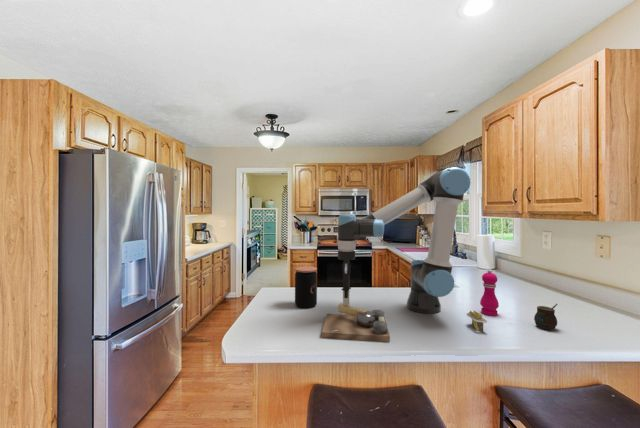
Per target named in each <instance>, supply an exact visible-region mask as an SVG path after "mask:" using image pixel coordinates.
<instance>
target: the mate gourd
mask: <svg viewBox="0 0 640 428" xmlns="http://www.w3.org/2000/svg"><path fill="white" fill-rule="evenodd" d="M557 306H558V303H555V304H554V305H553V306H552V307H549V306H546V305H538V306H536V313H535V314H534V317H533V320H534V323H535V326H537V327H538V328H539V329H542V330H546V331H552V330H554V329H555V328H556V327H557V325H558V319H557V317H556V315H555V312H556V310H555V308H556V307H557Z"/></svg>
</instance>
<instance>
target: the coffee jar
mask: <svg viewBox="0 0 640 428" xmlns="http://www.w3.org/2000/svg"><path fill="white" fill-rule="evenodd" d="M317 270H318V268H317V267H315V266H309V265H308V266H307V265H306V266H305V265H304V266H298V267H295V269H294V271H295V273H294V304H295V306H296V307H297V308H298V309H305V310H307V309H313V308H315V307H316V305H317V304H318V302H317V301H318V273H317Z"/></svg>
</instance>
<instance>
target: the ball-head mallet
mask: <svg viewBox="0 0 640 428" xmlns="http://www.w3.org/2000/svg"><path fill="white" fill-rule="evenodd" d="M337 312H338V313H342V314H343V315H350V316H353V317H357V325H359V326H361V327H373V323H374V322H375V313H373V312H372V311H371V310H365V309H361V308H357V307H354V306H350V305H344V304H343V303H339V304H338V305H337Z"/></svg>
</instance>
